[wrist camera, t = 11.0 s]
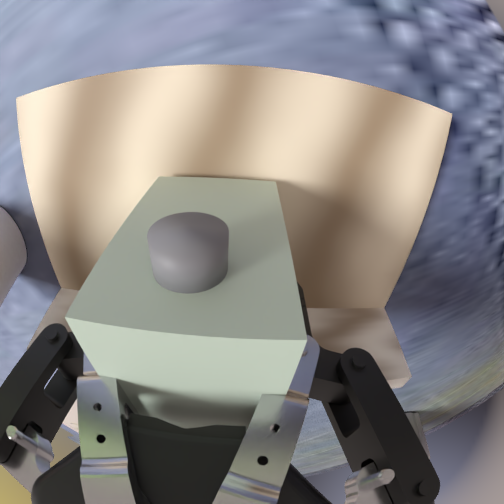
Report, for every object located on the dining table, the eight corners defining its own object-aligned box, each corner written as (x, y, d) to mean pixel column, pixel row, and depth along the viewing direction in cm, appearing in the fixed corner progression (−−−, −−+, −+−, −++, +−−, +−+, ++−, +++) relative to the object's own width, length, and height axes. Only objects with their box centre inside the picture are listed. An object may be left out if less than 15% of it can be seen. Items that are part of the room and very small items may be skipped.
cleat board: (436, 108, 11) (532, 150, 5) (371, 304, 19) (401, 387, 13) (32, 93, 10) (-61, 128, 4) (74, 286, 18) (35, 360, 12)
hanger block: (278, 159, 11) (320, 303, 5) (258, 313, 16) (262, 447, 10) (157, 154, 11) (47, 281, 4) (173, 308, 16) (145, 436, 9)
